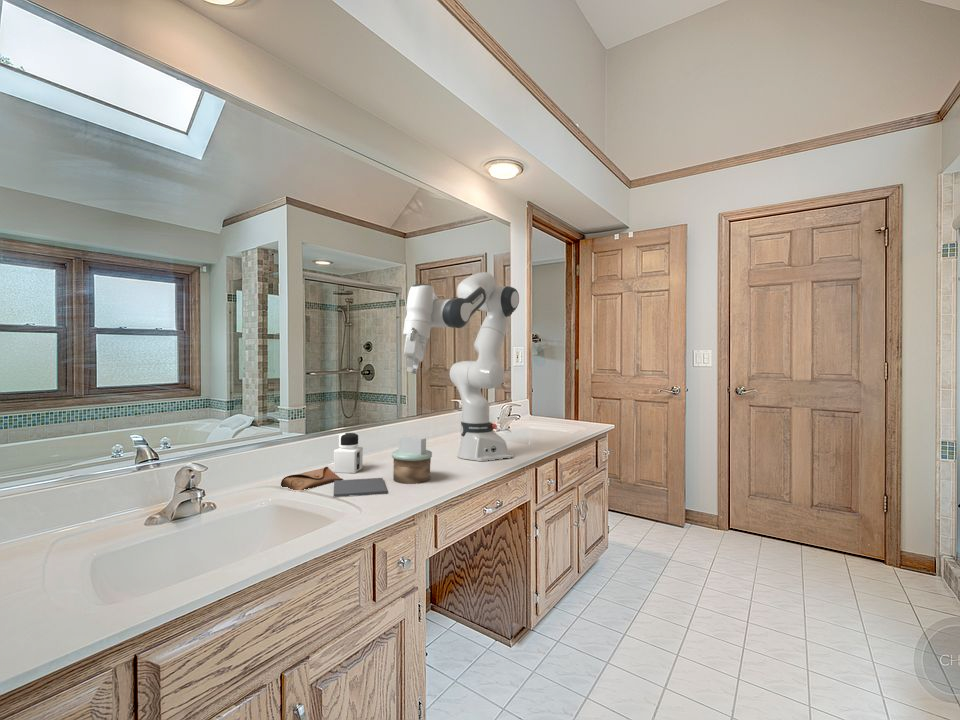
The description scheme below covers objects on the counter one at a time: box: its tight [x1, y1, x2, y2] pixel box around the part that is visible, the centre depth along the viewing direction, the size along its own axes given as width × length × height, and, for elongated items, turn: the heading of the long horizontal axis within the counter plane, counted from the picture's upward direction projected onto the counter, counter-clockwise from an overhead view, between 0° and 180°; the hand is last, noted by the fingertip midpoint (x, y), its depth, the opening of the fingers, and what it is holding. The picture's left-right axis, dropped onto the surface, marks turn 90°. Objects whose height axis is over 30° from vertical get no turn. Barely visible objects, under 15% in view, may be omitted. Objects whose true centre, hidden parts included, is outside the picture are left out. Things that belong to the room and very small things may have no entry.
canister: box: [392, 457, 432, 485], centre depth 152 cm, size 12×12×8 cm
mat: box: [333, 477, 388, 497], centre depth 140 cm, size 15×15×1 cm
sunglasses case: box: [280, 466, 344, 490], centre depth 145 cm, size 18×7×7 cm, turn 150°
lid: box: [391, 435, 433, 461], centre depth 152 cm, size 13×13×8 cm
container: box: [332, 432, 364, 474], centre depth 161 cm, size 8×8×13 cm
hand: (411, 372), depth 151 cm, fingers open, 8 cm apart
